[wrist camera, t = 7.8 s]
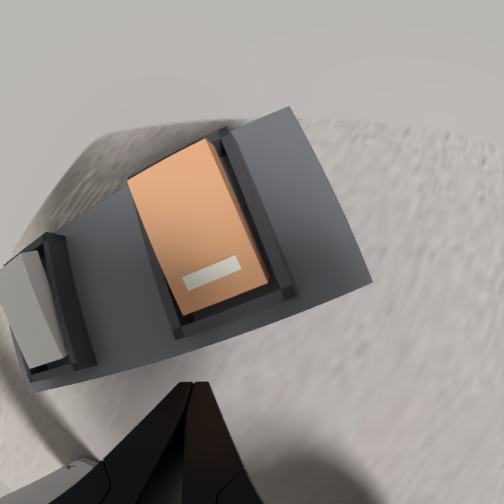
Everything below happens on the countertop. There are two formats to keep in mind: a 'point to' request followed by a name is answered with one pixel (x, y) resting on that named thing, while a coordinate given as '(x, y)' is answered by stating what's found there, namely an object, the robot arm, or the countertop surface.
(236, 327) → the switch box
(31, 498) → the travel mug
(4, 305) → the white rocker
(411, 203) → the countertop surface
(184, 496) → the robot arm
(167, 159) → the orange rocker
